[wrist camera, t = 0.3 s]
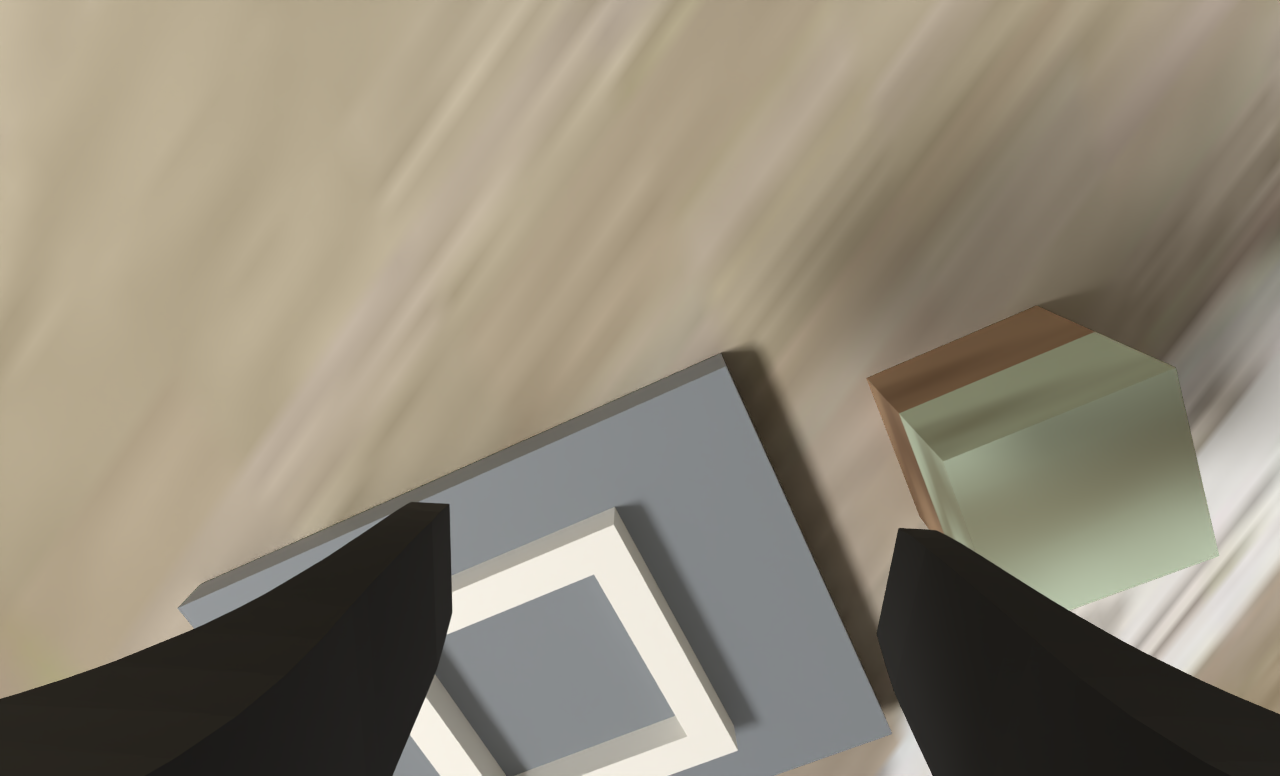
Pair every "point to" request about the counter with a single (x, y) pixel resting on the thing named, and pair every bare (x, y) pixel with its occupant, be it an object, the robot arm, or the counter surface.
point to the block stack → (1051, 455)
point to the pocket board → (620, 603)
